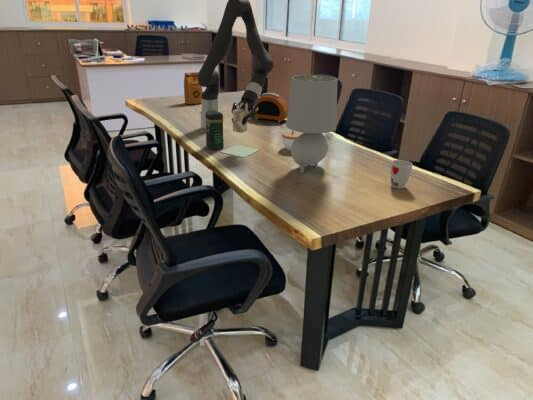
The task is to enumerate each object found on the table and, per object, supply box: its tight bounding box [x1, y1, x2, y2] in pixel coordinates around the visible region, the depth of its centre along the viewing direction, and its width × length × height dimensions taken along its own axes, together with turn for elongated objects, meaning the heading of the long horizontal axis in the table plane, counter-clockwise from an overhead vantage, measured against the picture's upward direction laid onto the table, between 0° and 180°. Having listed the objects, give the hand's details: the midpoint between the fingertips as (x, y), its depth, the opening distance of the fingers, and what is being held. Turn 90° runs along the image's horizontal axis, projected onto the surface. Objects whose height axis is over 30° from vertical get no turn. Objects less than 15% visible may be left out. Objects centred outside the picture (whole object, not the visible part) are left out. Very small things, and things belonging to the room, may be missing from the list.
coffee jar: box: [205, 110, 224, 151], centre depth 208 cm, size 10×8×19 cm
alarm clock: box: [250, 92, 289, 123], centre depth 263 cm, size 23×9×17 cm, turn 68°
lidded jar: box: [281, 130, 303, 152], centre depth 211 cm, size 11×11×9 cm
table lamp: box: [285, 74, 338, 174], centre depth 179 cm, size 23×22×40 cm
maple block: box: [232, 109, 248, 134], centre depth 200 cm, size 5×5×10 cm
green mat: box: [220, 144, 260, 158], centre depth 207 cm, size 14×14×1 cm
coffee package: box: [183, 71, 204, 105], centre depth 298 cm, size 10×12×22 cm
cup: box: [390, 159, 413, 190], centre depth 170 cm, size 8×8×10 cm
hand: (237, 123), depth 199 cm, fingers closed on maple block, 5 cm apart
